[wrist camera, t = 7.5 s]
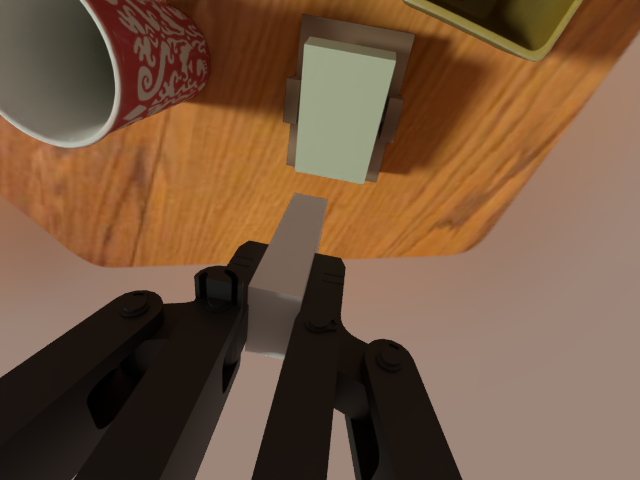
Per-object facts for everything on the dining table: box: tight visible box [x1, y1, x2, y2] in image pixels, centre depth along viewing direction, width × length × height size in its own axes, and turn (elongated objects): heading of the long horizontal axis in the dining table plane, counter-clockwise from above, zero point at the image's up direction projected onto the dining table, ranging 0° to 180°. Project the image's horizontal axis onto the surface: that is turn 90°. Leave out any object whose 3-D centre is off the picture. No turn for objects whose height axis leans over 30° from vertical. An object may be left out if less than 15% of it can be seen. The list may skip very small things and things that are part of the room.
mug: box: [0, 0, 210, 148], centre depth 22 cm, size 13×9×14 cm
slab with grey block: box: [283, 14, 415, 182], centre depth 26 cm, size 11×8×5 cm
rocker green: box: [295, 36, 396, 184], centre depth 23 cm, size 9×6×2 cm, turn 171°
